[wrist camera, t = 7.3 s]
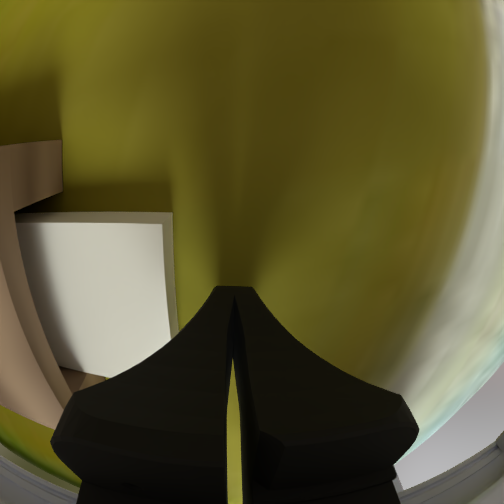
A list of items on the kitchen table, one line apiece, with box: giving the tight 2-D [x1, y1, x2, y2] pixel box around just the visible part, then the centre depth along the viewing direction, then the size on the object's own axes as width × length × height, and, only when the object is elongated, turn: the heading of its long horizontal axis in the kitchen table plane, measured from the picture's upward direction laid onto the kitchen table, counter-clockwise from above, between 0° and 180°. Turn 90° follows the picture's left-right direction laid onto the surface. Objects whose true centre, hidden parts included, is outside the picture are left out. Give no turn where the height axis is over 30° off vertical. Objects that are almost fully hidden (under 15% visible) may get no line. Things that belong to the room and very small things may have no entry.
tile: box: [14, 212, 179, 378], centre depth 10 cm, size 12×7×2 cm, turn 86°
